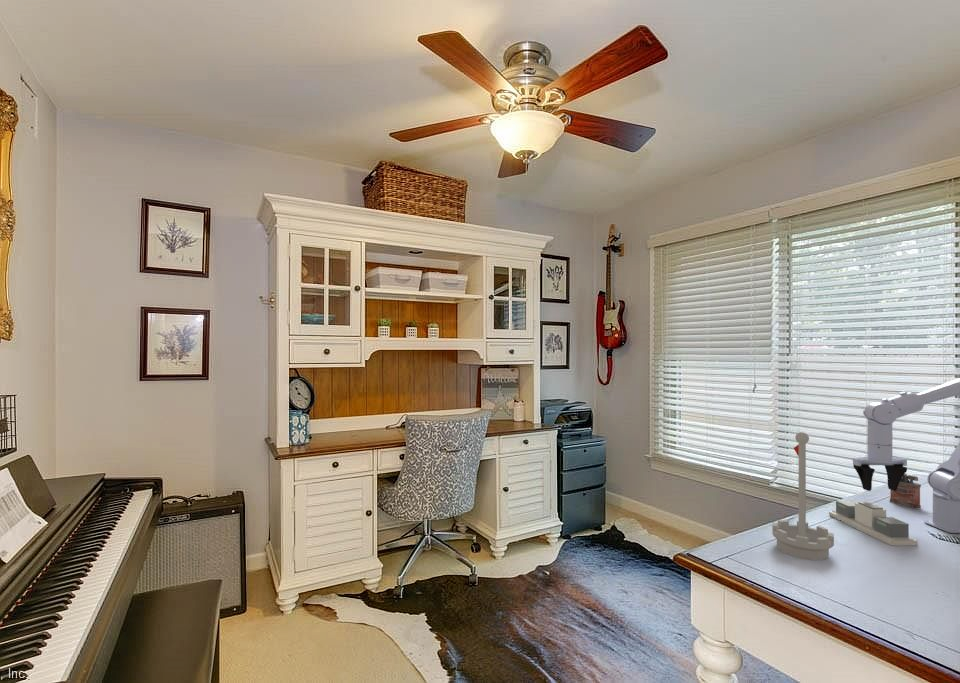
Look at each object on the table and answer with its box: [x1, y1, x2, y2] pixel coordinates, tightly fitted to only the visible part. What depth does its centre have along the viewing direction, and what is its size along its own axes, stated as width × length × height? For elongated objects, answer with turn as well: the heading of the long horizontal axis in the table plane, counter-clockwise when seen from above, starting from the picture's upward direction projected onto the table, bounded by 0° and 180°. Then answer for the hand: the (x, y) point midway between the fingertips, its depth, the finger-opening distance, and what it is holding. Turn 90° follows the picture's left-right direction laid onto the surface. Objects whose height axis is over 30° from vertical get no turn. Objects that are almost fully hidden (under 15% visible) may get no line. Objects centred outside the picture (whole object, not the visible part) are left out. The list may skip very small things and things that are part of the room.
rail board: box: [828, 499, 918, 546], centre depth 138 cm, size 7×22×5 cm, turn 1°
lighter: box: [889, 473, 922, 510], centre depth 158 cm, size 8×3×10 cm, turn 25°
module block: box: [855, 501, 887, 528], centre depth 137 cm, size 4×6×5 cm, turn 1°
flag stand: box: [771, 431, 835, 561], centre depth 124 cm, size 13×13×30 cm
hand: (879, 489), depth 143 cm, fingers open, 7 cm apart
